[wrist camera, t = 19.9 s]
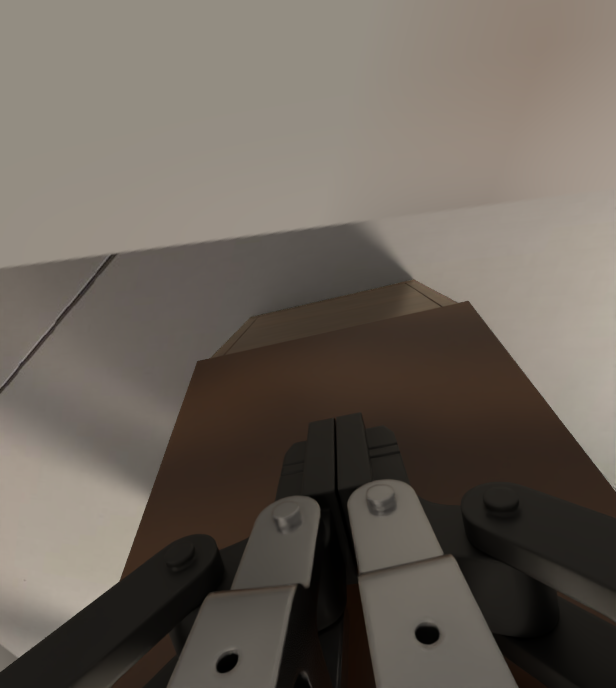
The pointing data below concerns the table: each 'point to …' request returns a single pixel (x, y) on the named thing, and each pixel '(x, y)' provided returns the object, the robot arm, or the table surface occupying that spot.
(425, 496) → the lid
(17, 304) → the table surface
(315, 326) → the chest
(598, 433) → the table surface
